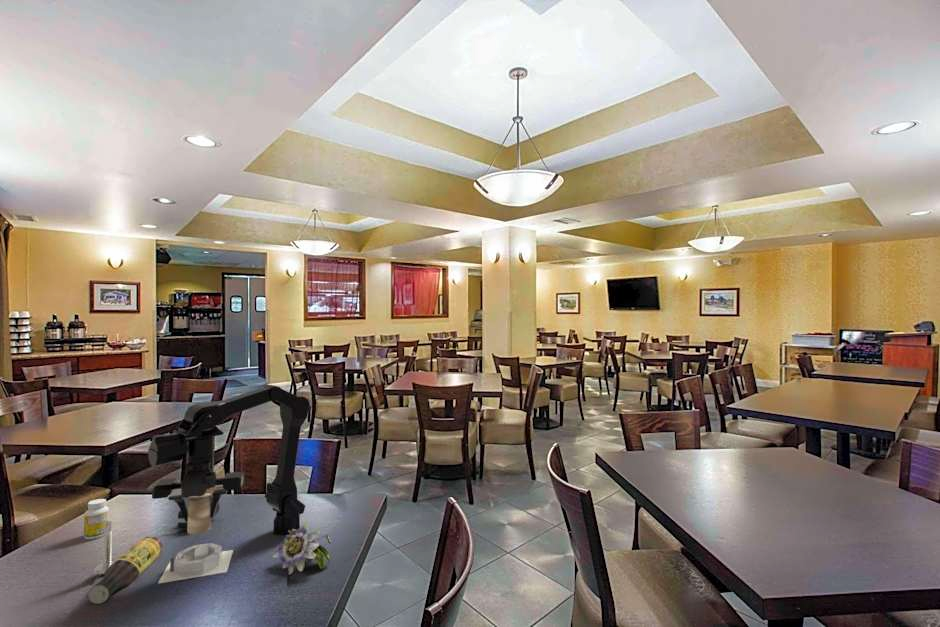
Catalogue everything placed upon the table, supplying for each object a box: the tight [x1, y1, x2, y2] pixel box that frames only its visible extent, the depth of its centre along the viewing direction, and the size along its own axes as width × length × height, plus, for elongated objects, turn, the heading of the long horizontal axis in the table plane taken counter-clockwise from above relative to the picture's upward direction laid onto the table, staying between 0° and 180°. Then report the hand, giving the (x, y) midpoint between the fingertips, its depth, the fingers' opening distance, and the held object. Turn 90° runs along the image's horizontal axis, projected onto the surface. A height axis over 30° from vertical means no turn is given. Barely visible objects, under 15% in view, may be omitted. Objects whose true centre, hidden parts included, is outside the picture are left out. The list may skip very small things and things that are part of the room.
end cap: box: [177, 497, 221, 534], centre depth 132 cm, size 10×7×7 cm
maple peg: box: [186, 492, 213, 535], centre depth 109 cm, size 5×5×8 cm
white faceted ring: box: [169, 542, 223, 577], centre depth 109 cm, size 10×10×3 cm
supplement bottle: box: [83, 498, 110, 540], centre depth 126 cm, size 5×5×10 cm
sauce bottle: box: [87, 536, 164, 605], centre depth 104 cm, size 7×6×20 cm
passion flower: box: [271, 522, 332, 576], centre depth 111 cm, size 11×11×12 cm
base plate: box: [157, 549, 234, 585], centre depth 109 cm, size 14×11×1 cm
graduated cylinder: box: [93, 520, 116, 577], centre depth 106 cm, size 13×5×5 cm
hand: (199, 519), depth 109 cm, fingers closed on maple peg, 5 cm apart
